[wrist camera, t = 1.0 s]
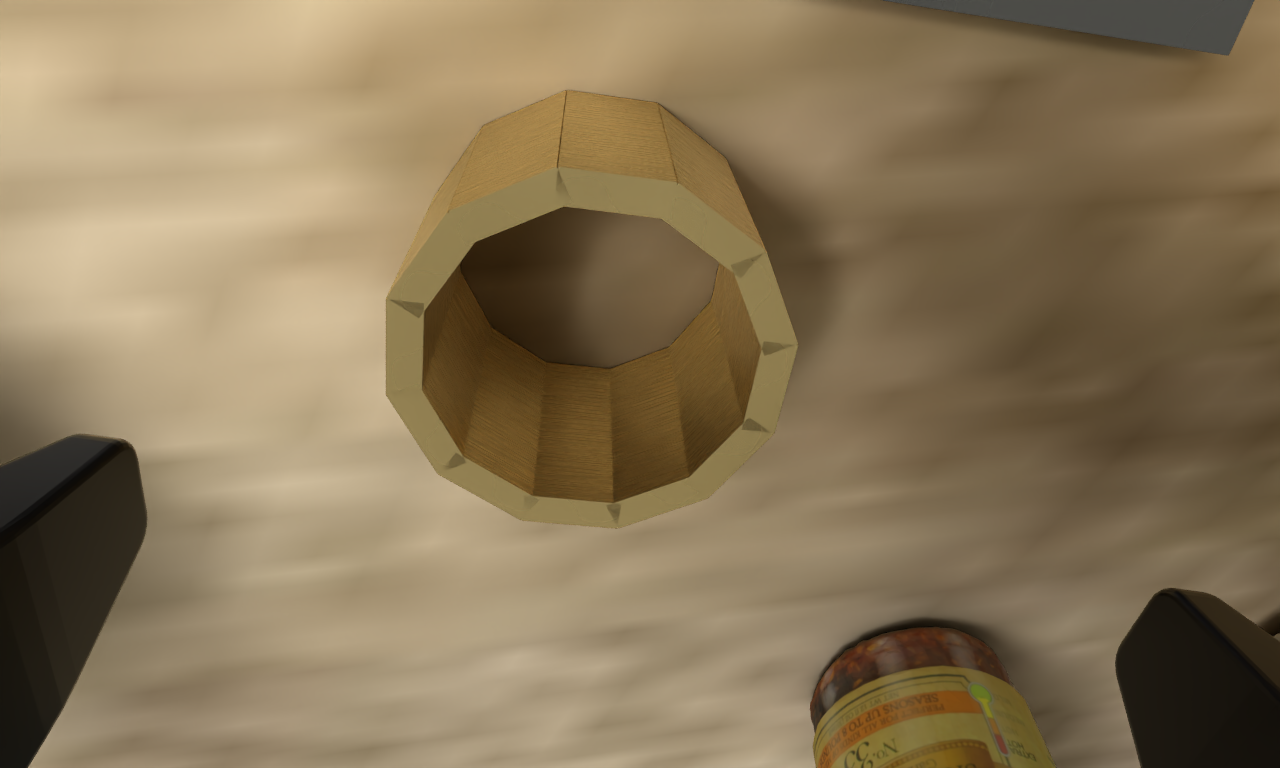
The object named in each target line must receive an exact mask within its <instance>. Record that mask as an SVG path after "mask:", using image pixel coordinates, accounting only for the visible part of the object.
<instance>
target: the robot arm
mask: <svg viewBox="0 0 1280 768" xmlns="http://www.w3.org/2000/svg"><path fill="white" fill-rule="evenodd" d="M146 527H147V510H146V505H145V499H144V493H143V487H142V481H141V475H140V469H139V463H138V458H137V454H136V451H135V449H134V447H133V446H132V445H131V444H130V443H129V442H127V441H125V440H123V439H117V438H110V437H103V436H96V435H89V434H76V435H72V436H69V437H66V438H64V439H61V440H59V441H57V442H54V443H52V444H50V445H47V446H45V447H43V448H40V449H38V450H36V451H33V452H31V453H29V454H26V455H24V456H22V457H19V458H17V459H15V460H12V461H10V462H8V463H6V464H3V465H1V466H0V768H28V766H29V765H30V763H31V762H32V760H33V758H34V757H35V755H36V753H37V752H38V750H39V749H40V747H41V745H42V744H43V742H44V740H45V739H46V737H47V735H48V734H49V732H50V730H51V729H52V727H53V725H54V723H55V722H56V720H57V718H58V717H59V715H60V713H61V711H62V710H63V708H64V706H65V704H66V702H67V700H68V698H69V696H70V694H71V692H72V690H73V688H74V686H75V684H76V682H77V680H78V678H79V676H80V674H81V672H82V670H83V668H84V666H85V664H86V661H87V659H88V657H89V655H90V653H91V651H92V649H93V647H94V645H95V642H96V640H97V638H98V636H99V634H100V632H101V630H102V628H103V625H104V623H105V621H106V619H107V617H108V615H109V613H110V611H111V609H112V606H113V604H114V602H115V600H116V598H117V596H118V594H119V592H120V590H121V587H122V585H123V583H124V581H125V579H126V577H127V575H128V573H129V570H130V568H131V566H132V564H133V562H134V560H135V558H136V556H137V554H138V551H139V549H140V547H141V545H142V542H143V540H144V536H145V533H146ZM1115 666H1116V675H1117V679H1118V683H1119V687H1120V691H1121V694H1122V698H1123V702H1124V706H1125V709H1126V713H1127V717H1128V721H1129V724H1130V728H1131V732H1132V736H1133V739H1134V743H1135V747H1136V751H1137V754H1138V758H1139V762H1140V766H1141V768H1280V641H1278V640H1277V639H1276V638H1274V637H1273V636H1271V635H1270V634H1269V633H1267V632H1266V631H1264V630H1263V629H1261V628H1260V627H1259V626H1257V625H1256V624H1254V623H1253V622H1252V621H1250V620H1249V619H1247V618H1246V617H1244V616H1243V615H1242V614H1240V613H1239V612H1237V611H1236V610H1235V609H1233V608H1232V607H1230V606H1229V605H1227V604H1226V603H1225V602H1223V601H1222V600H1220V599H1219V598H1217V597H1215V596H1213V595H1211V594H1208V593H1204V592H1198V591H1191V590H1184V589H1177V588H1167V589H1163V590H1161V591H1159V592H1158V593H1156V594H1155V595H1154V596H1153V597H1152V598H1151V599H1150V601H1149V602H1148V604H1147V605H1146V607H1145V608H1144V610H1143V611H1142V613H1141V614H1140V616H1139V617H1138V619H1137V620H1136V622H1135V623H1134V625H1133V626H1132V628H1131V629H1130V631H1129V632H1128V634H1127V635H1126V636H1125V638H1124V639H1123V641H1122V642H1121V644H1120V646H1119V648H1118V651H1117V654H1116V662H1115Z"/></svg>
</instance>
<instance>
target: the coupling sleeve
mask: <svg viewBox="0 0 1280 768" xmlns="http://www.w3.org/2000/svg"><path fill="white" fill-rule="evenodd" d="M561 207H572V208H580V209H588V210H596V211H604V212H612V213H620V214H627V215H635V216H643V217H651V218H659V219H662V220H663V221H665V222H666V223H667V224H669V225H670V226H671V227H673V228H674V229H675V230H677V231H678V232H679V233H681V234H682V235H683V236H685V237H686V238H687V239H689V240H690V241H691V242H693V243H694V244H695V245H697V246H698V247H699V248H701V249H702V250H703V251H705V252H706V253H707V254H709V255H710V256H711V257H713V258H714V259H715V260H717V261H718V262H719V266H718V271H717V275H716V280H715V285H714V290H713V295H712V299H711V301H710V303H709V304H708V305H707V306H706V307H705V308H704V309H703V310H702V311H701V312H700V314H699V315H698V316H697V317H696V318H695V319H694V320H693V321H692V322H691V324H690V325H689V326H688V327H687V328H686V329H685V330H684V331H683V332H682V334H681V335H680V336H679V337H678V338H677V339H676V340H675V341H674V342H673V343H672V345H671V346H670V347H668V348H665V349H663V350H660V351H657V352H655V353H652V354H649V355H646V356H644V357H641V358H638V359H635V360H633V361H630V362H627V363H625V364H622V365H619V366H616V367H614V368H611V369H605V368H596V367H587V366H577V365H568V364H558V363H549V362H545V361H543V360H542V359H540V358H538V357H537V356H535V355H534V354H532V353H531V352H529V351H528V350H526V349H524V348H523V347H521V346H520V345H518V344H517V343H515V342H513V341H512V340H510V339H509V338H507V337H506V336H504V335H502V334H501V333H499V332H498V331H496V330H495V329H493V328H492V327H491V325H490V324H489V322H488V320H487V318H486V316H485V315H484V313H483V311H482V309H481V307H480V305H479V304H478V302H477V300H476V298H475V296H474V295H473V293H472V291H471V289H470V287H469V285H468V284H467V282H466V280H465V278H464V276H463V275H462V273H461V260H462V259H463V258H464V256H465V255H466V254H467V252H468V251H469V250H470V248H471V247H472V246H473V244H474V243H475V242H476V241H479V240H481V239H484V238H486V237H489V236H491V235H494V234H496V233H499V232H501V231H504V230H506V229H509V228H511V227H514V226H516V225H519V224H521V223H524V222H526V221H529V220H531V219H534V218H536V217H539V216H541V215H544V214H546V213H549V212H551V211H554V210H556V209H559V208H561ZM797 348H798V342H797V339H796V336H795V333H794V330H793V327H792V324H791V321H790V318H789V315H788V312H787V310H786V307H785V304H784V301H783V298H782V295H781V292H780V289H779V286H778V283H777V280H776V277H775V274H774V272H773V269H772V266H771V263H770V260H769V257H768V254H767V251H766V249H765V247H764V244H763V242H762V240H761V237H760V235H759V233H758V231H757V228H756V226H755V224H754V221H753V219H752V217H751V215H750V212H749V210H748V208H747V205H746V203H745V201H744V199H743V196H742V194H741V192H740V189H739V187H738V185H737V182H736V180H735V178H734V176H733V173H732V171H731V169H730V166H729V164H728V162H727V160H726V158H725V157H724V156H723V155H721V154H720V153H719V152H718V151H716V150H715V149H714V148H713V147H712V146H710V145H709V144H708V143H707V142H705V141H704V140H703V139H702V138H700V137H699V136H698V135H697V134H695V133H694V132H693V131H692V130H691V129H689V128H688V127H687V126H686V125H684V124H683V123H682V122H681V121H679V120H678V119H677V118H676V117H674V116H673V115H672V114H671V113H670V112H668V111H667V110H666V109H665V108H663V107H662V106H661V105H660V104H657V103H655V102H648V101H641V100H634V99H626V98H619V97H612V96H605V95H598V94H591V93H584V92H577V91H570V90H567V91H566V90H565V91H563V92H561V93H558V94H556V95H554V96H551V97H549V98H547V99H544V100H542V101H540V102H537V103H535V104H532V105H530V106H528V107H525V108H523V109H521V110H518V111H516V112H514V113H511V114H509V115H506V116H504V117H502V118H499V119H497V120H495V121H492V122H490V123H488V124H485V125H484V126H483V127H482V128H481V129H480V131H479V132H478V134H477V135H476V137H475V138H474V140H473V141H472V142H471V144H470V145H469V147H468V148H467V150H466V151H465V153H464V154H463V155H462V157H461V158H460V160H459V161H458V163H457V164H456V166H455V167H454V168H453V170H452V171H451V173H450V174H449V176H448V177H447V179H446V180H445V181H444V183H443V184H442V186H441V187H440V189H439V190H438V192H437V193H436V194H435V196H434V199H433V201H432V203H431V205H430V207H429V209H428V211H427V213H426V215H425V217H424V220H423V222H422V224H421V226H420V228H419V230H418V232H417V234H416V236H415V238H414V241H413V243H412V245H411V247H410V249H409V251H408V253H407V255H406V257H405V260H404V262H403V264H402V266H401V268H400V270H399V272H398V274H397V276H396V278H395V281H394V283H393V285H392V287H391V289H390V291H389V293H388V295H387V297H386V394H387V395H386V396H387V397H388V399H389V400H390V402H391V403H392V405H393V407H394V408H395V410H396V411H397V413H398V414H399V416H400V417H401V419H402V420H403V422H404V423H405V425H406V426H407V428H408V429H409V431H410V433H411V434H412V436H413V437H414V439H415V440H416V442H417V443H418V445H419V446H420V448H421V449H422V451H423V452H424V454H425V456H426V457H427V459H428V460H429V462H430V463H431V465H432V466H433V468H434V469H435V471H436V472H437V473H438V475H440V476H442V477H444V478H446V479H448V480H449V481H451V482H453V483H455V484H457V485H458V486H460V487H462V488H464V489H466V490H467V491H469V492H471V493H473V494H475V495H476V496H478V497H480V498H482V499H484V500H485V501H487V502H489V503H491V504H493V505H494V506H496V507H498V508H500V509H502V510H503V511H505V512H507V513H509V514H511V515H512V516H514V517H516V518H518V519H520V520H522V521H534V522H545V523H557V524H569V525H581V526H592V527H604V528H616V529H617V527H618V528H621V527H624V526H627V525H630V524H633V523H636V522H639V521H642V520H645V519H648V518H651V517H654V516H657V515H660V514H663V513H666V512H669V511H672V510H675V509H678V508H681V507H684V506H687V505H690V504H693V503H696V502H699V501H702V500H705V499H707V497H708V498H709V497H710V496H711V495H712V494H713V493H714V492H715V491H716V490H717V489H718V488H719V487H720V486H721V485H722V484H723V483H724V482H725V481H726V480H727V479H728V478H729V477H730V476H731V475H732V474H733V473H734V472H735V471H737V470H738V469H739V468H740V467H741V466H742V465H743V464H744V463H745V462H746V461H747V460H748V459H749V458H750V457H751V456H752V455H753V454H754V453H755V452H756V451H757V450H758V449H759V448H760V447H761V446H762V445H763V444H764V443H765V442H766V441H767V440H768V439H769V438H770V437H771V436H772V435H773V434H774V433H775V429H776V425H777V422H778V418H779V414H780V411H781V407H782V403H783V400H784V396H785V392H786V389H787V385H788V381H789V378H790V374H791V370H792V367H793V363H794V359H795V356H796V352H797Z"/></svg>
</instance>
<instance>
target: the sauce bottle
mask: <svg viewBox="0 0 1280 768" xmlns="http://www.w3.org/2000/svg"><path fill="white" fill-rule="evenodd" d="M810 711H811V720H812V722H813V725H814V731H815V736H814V742H813V752H814V758H815V764H816V768H1056V766H1055V764H1054V762H1053V759H1052V757H1051V755H1050V753H1049V751H1048V749H1047V747H1046V744H1045V742H1044V740H1043V738H1042V736H1041V734H1040V731H1039V729H1038V727H1037V725H1036V723H1035V721H1034V718H1033V716H1032V714H1031V712H1030V710H1029V708H1028V705H1027V703H1026V701H1025V699H1024V698H1023V697H1022V696H1021V695H1020V694H1019V693H1018V692H1017V691H1016V690H1015V689H1014V688H1013V684H1012V683H1011V681H1010V678H1009V675H1008V674H1007V672H1006V670H1005V668H1004V666H1003V665H1002V663H1001V662H1000V661H999V659H998V657H997V656H996V654H995V653H994V652H993V650H992V649H991V648H989V647H987V646H986V644H985V643H984V642H982V641H980V640H978V639H977V638H974V637H972V636H970V635H968V634H966V633H964V632H961V631H959V630H956V629H951V628H939V627H937V626H936V627H926V628H922V627H919V628H910V629H906V630H898V631H892V632H888V633H883V634H880V635H879V636H876V637H873V638H871V639H870V640H865V641H861V642H859V643H858V644H857V646H855V647H852V648H849V649H847V650H845V652H844V653H843V654H842V655H841V656H840V657H839V658H838V659H837V660H835V661H834V662H833V664H832V665H831V666H830V667H829V669H828V670H827V671H826V672H825V673H824V675H823V676H822V679H821V680H820V682H819V683H818V684H817V688H816V689H815V692H814V696H813V699H812V701H811V703H810Z"/></svg>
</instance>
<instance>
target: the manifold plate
mask: <svg viewBox="0 0 1280 768" xmlns="http://www.w3.org/2000/svg"><path fill="white" fill-rule="evenodd" d="M884 1H890V2H896V3H903V4H909V5H915V6H921V7H928V8H934V9H940V10H946V11H953V12H959V13H965V14H971V15H978V16H984V17H990V18H996V19H1003V20H1009V21H1015V22H1021V23H1028V24H1034V25H1040V26H1046V27H1053V28H1059V29H1065V30H1072V31H1078V32H1084V33H1090V34H1097V35H1103V36H1109V37H1115V38H1122V39H1128V40H1134V41H1140V42H1147V43H1153V44H1159V45H1165V46H1172V47H1178V48H1184V49H1190V50H1197V51H1203V52H1209V53H1216V54H1222V55H1228V56H1229V53H1230V51H1231V49H1232V47H1233V45H1234V43H1235V41H1236V38H1237V36H1238V34H1239V32H1240V30H1241V28H1242V26H1243V23H1244V21H1245V19H1246V17H1247V15H1248V13H1249V11H1250V8H1251V6H1252V4H1253V2H1254V0H884Z"/></svg>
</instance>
